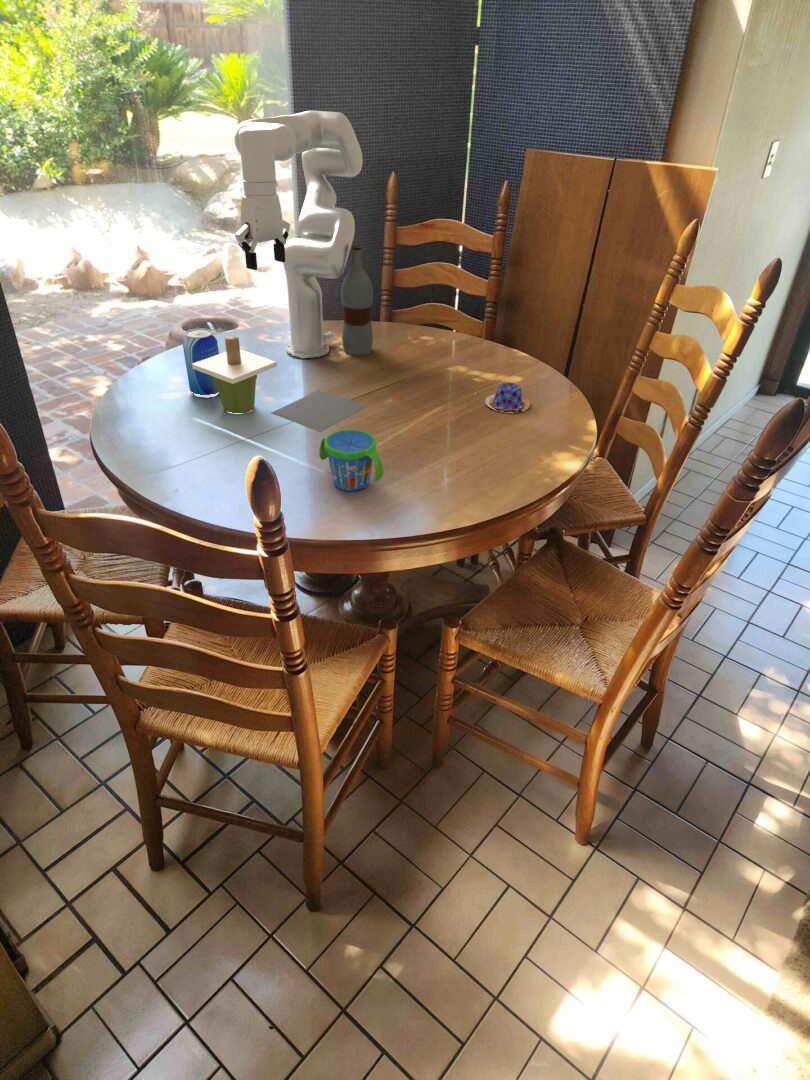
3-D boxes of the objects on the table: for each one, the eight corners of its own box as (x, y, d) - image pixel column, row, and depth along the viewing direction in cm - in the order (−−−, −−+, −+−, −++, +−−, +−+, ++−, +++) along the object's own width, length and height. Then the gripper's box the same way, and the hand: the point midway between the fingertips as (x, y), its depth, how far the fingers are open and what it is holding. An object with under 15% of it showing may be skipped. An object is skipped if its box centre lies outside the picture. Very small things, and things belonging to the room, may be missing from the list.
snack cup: (307, 478, 150) (305, 435, 144) (344, 461, 156) (343, 420, 150) (358, 507, 141) (358, 463, 135) (394, 488, 148) (395, 445, 142)
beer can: (205, 402, 178) (196, 341, 169) (183, 393, 182) (174, 332, 173) (230, 392, 184) (223, 332, 175) (209, 383, 188) (201, 324, 179)
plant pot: (271, 404, 179) (267, 361, 172) (250, 424, 170) (245, 379, 163) (228, 397, 181) (223, 355, 175) (206, 416, 172) (199, 373, 165)
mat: (319, 392, 186) (319, 390, 186) (366, 408, 179) (366, 406, 178) (271, 415, 174) (270, 412, 173) (320, 433, 167) (319, 431, 166)
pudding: (481, 411, 180) (483, 392, 177) (488, 393, 190) (490, 374, 187) (528, 418, 178) (530, 398, 175) (532, 399, 188) (535, 380, 185)
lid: (236, 352, 177) (233, 324, 173) (276, 366, 170) (274, 337, 166) (192, 368, 168) (188, 339, 163) (233, 384, 161) (229, 353, 157)
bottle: (378, 349, 212) (380, 245, 195) (361, 359, 206) (361, 251, 189) (353, 343, 216) (352, 240, 199) (335, 351, 210) (333, 246, 192)
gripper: (274, 182, 171) (279, 255, 181) (220, 191, 159) (229, 269, 169) (297, 186, 167) (301, 261, 177) (244, 195, 156) (251, 275, 166)
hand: (266, 265), depth 173 cm, fingers open, 9 cm apart
